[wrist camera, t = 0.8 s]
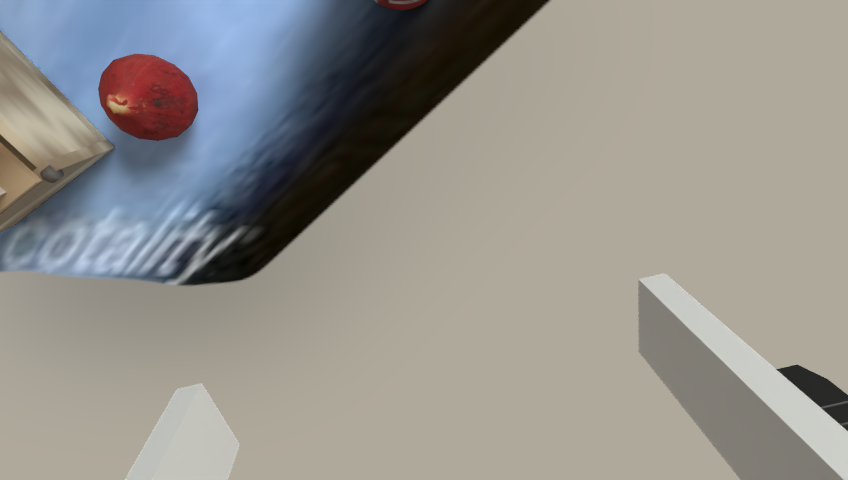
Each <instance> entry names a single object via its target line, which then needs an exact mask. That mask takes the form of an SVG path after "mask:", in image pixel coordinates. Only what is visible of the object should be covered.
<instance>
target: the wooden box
mask: <svg viewBox="0 0 848 480" xmlns="http://www.w3.org/2000/svg"><path fill="white" fill-rule="evenodd" d="M0 142H1V143H2V144H3V145H4V146H5V147H6V148H7V149H8V150H9V151H10V152H12V153H13V154H14V155H15V156H16V157H17V158H18V159H19V160H20V161H21V162H23V163H24V164H25V165H26V166H27V167H28V168H29V169H30V170H31V171H33V172H34V173H35V174H36V175H37V176H38V177H39V178H40V179H41V180H42V181H41V182H40V183H38V184H37V185H36V186H35V187H33V188H32V189H31V190H29V191H28V192H27V193H26V194H24V195H23V196H22V197H21V198H19V199H18V200H17V201H15V202H14V203H13V204H12V205H10V206H9V207H8V208H7V209H5V210H4V211H3V212H1V213H0V232H1V231H3V230H5V229H7V228H10V227H12V226H14V225H15V224H17V223H18V222H19V221H21V220H22V219H23V218H25V217H26V216H27V215H28V214H30V213H31V212H32V211H34V210H35V209H36V208H37V207H39V206H40V205H41V204H43V203H44V202H45V201H47V200H48V199H49V198H50V197H52V196H53V195H54V194H56V193H57V192H58V191H60V190H61V189H62V188H63V187H65V186H66V185H67V184H69V183H70V182H71V181H72V180H74V179H75V178H76V177H78V176H79V175H80V174H82V173H83V172H84V171H85V170H87V169H88V168H89V167H91V166H92V165H93V164H94V163H96V162H97V161H98V160H100V159H101V158H102V157H104V156H105V155H106V154H107V153H109V152H110V151H111V150H113V149H114V148H115V147H114V146H113V145H112V144H111V143H110V142H109V141H108V140H107V139H106V138H105V137H104V136H103V135H102V134H101V133H100V132H99V131H98V130H97V129H96V128H95V127H94V126H93V125H92V124H91V123H90V122H89V121H88V120H87V119H86V117H85V116H84V115H83V114H82V113H81V112H80V111H79V110H78V109H77V108H76V107H75V106H74V105H73V104H72V103H71V102H70V101H69V100H68V99H67V98H66V97H65V96H64V95H63V94H62V93H61V92H60V91H59V90H58V89H57V88H56V87H55V86H54V85H53V84H52V83H51V82H50V81H49V80H48V79H47V78H46V77H45V76H44V75H43V74H42V73H41V72H40V71H39V70H38V69H37V68H36V67H35V66H34V65H33V64H32V63H31V62H30V61H29V60H28V59H27V58H26V57H25V56H24V55H23V54H22V53H21V52H20V51H19V50H18V49H17V48H16V47H15V45H14V44H13V43H12V42H11V41H10V40H9V39H8V38H7V37H6V36H5V35H4V34H3V33H2V32H1V31H0Z"/></svg>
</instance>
